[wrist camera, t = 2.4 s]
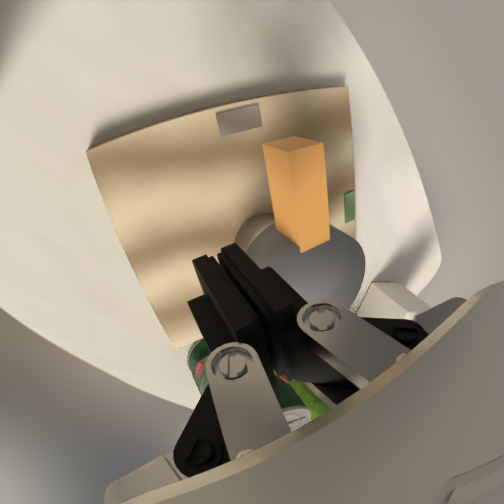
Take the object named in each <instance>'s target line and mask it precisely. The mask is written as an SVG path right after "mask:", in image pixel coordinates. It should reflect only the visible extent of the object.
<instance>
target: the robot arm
mask: <svg viewBox="0 0 504 504" xmlns="http://www.w3.org/2000/svg"><path fill="white" fill-rule="evenodd" d="M217 258H218V261H219V263H218V262H217V260H216V259H215V258H214V256H211V257H208V256H207V255H206V254H205V255H203V256H200V257H198V258H196V259H193V260H192V263H193V266H194V269H195V271H196V274H197V277H198V280H199V282H200V285H201V288H202V290H203V293H204V294H203V295H201V296H199V297H196V298H194V299H192V300H189V301H187V303H188V306H189V308H190V310H191V312H192V315H193V317H194V319H195V321H196V324H197V326H198V328H199V330H200V332H201V334H202V337H203V339H204V341H205V343H206V345H207V347H208V349H209V351H210V353H211V354H210V355H209V357H208V359H207V361H206V374H207V378H208V382H209V383H208V384H207V386H206V388H205V390H204V392H203V394H202V396H201V398H200V400H199V402H198V404H197V406H196V408H195V409H194V412H193V413H192V415H191V417H190V419H189V421H188V423H187V425H186V427H185V429H184V430H183V432H182V434H181V436H180V438H179V440H178V441H177V444H176V445H175V449H174V451H173V452H172V453H170V454H168V455H167V456H165V457H164V456H163V455H161V456H159V457H158V458H156V459H154V460H153V461H151V462H149V463H147V464H146V465H144V466H142V467H140V468H139V469H137V470H135V471H133V472H131V473H130V474H128V475H126V476H124V477H122V478H120V479H119V480H117V481H115V482H113V483H112V484H110V485H109V486H108V487H107V489H106V491H105V494H104V501H105V504H504V281H501V282H498V283H495V284H492V285H490V286H488V287H486V288H484V289H482V290H480V291H479V292H477V293H476V294H474V295H473V296H472V297H470V298H469V299H468V300H466V299H463V298H458V297H455V298H451V299H449V300H447V301H445V302H443V303H441V304H439V305H437V306H435V307H433V308H431V309H429V310H427V311H425V312H423V313H421V314H419V315H416V316H414V319H413V320H408V319H391V318H370V317H359V316H357V315H356V314H354V313H353V312H351V311H349V310H348V309H346V308H345V307H343V306H342V305H340V304H338V303H336V302H334V301H330V300H316V301H312V302H310V303H308V302H306V301H305V300H304V299H303V298H302V297H301V296H300V295H299V294H298V293H297V292H296V291H295V290H294V289H293V288H292V287H291V286H290V285H289V284H288V283H287V282H286V281H285V280H284V279H283V278H282V277H281V276H280V275H279V274H278V273H277V272H276V271H275V270H274V269H273V268H271V267H270V266H268V267H265V268H263V269H260V268H259V267H258V266H257V265H256V263H255V262H254V261H253V260H252V259H251V258H250V257H249V256H248V255H247V254H246V253H245V252H244V251H243V250H242V249H241V248H240V247H239V246H238V245H237V244H236V243H232V244H230V245H227V246H225V247H222V248H221V253H218V254H217ZM273 370H274V371H275V373H276V374H277V375H278V376H279V377H280V376H282V375H284V376H285V377H286V379H287V380H288V381H291V380H293V379H295V381H301V382H305V385H306V386H307V387H308V388H309V389H310V390H311V391H312V392H313V393H314V394H315V395H316V396H318V397H319V398H320V399H321V400H322V401H323V402H324V403H325V404H327V405H328V406H329V407H330V408H331V409H330V410H328V411H327V412H325V413H323V414H322V415H320V416H318V417H317V418H315V419H313V420H312V421H310V422H308V423H306V424H305V425H303V426H301V427H299V428H298V429H296V430H294V431H291V429H290V427H289V425H288V423H287V420H286V418H285V416H284V414H283V412H282V409H281V407H280V405H279V403H278V400H277V398H276V395H277V392H278V387H277V383H276V379H275V375H274V371H273Z"/></svg>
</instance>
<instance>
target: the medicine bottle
mask: <svg viewBox="0 0 504 504" xmlns="http://www.w3.org/2000/svg"><path fill="white" fill-rule="evenodd" d="M429 309H431V307H430V306H429V305H428V304H427V303H425V302H424V301H423V300H421V299H420V298H419V297H417V296H416V295H415V294H413V293H412V292H410V291H409V290H408V289H406V288H405V287H404V286H402V285H401V284H399V283H398V282H373V283H371V285H370V287H369V289H368V291H367V293H366V295H365V297H364V299H363V301H362V303H361V305H360V307H359V309H358V311H357V313H356V315H357V316H359V317H370V318H391V319H408V320H413V319H414V316H416V315H419V314H421V313H423V312H425V311H427V310H429Z"/></svg>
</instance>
